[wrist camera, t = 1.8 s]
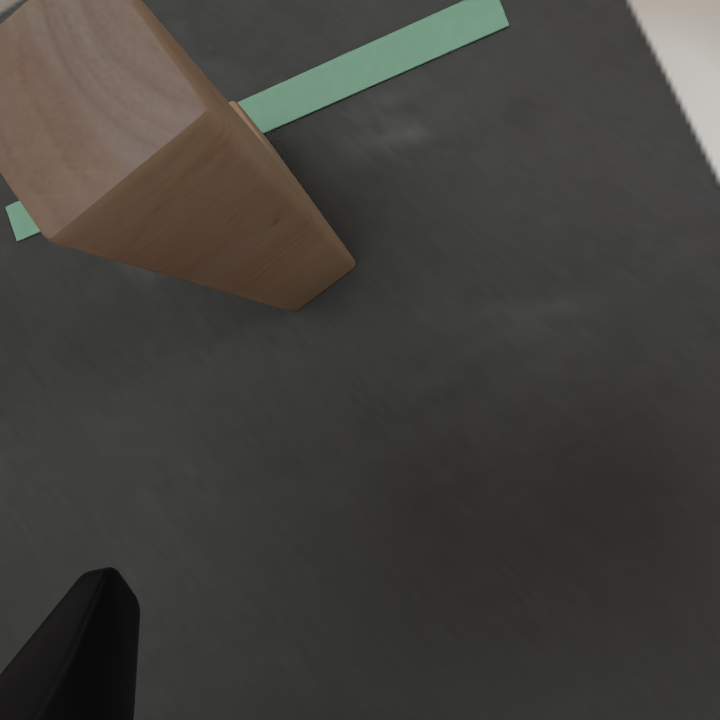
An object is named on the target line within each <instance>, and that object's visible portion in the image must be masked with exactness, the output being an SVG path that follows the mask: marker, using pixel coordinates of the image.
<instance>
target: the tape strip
mask: <svg viewBox="0 0 720 720" xmlns="http://www.w3.org/2000/svg"><path fill="white" fill-rule="evenodd" d="M506 27H509V23H508V21H507V18H506V16H505V13H504V11H503V8H502V5H501V3H500V0H464V1H462V2H460V3H457V4H455V5H453V6H451V7H449V8H446V9H444V10H442V11H440V12H437V13H435V14H433V15H431V16H429V17H426V18H424V19H422V20H420V21H417V22H415V23H413V24H411V25H409V26H406V27H404V28H402V29H400V30H397V31H395V32H393V33H391V34H389V35H386V36H384V37H382V38H380V39H377V40H375V41H373V42H371V43H369V44H366V45H364V46H362V47H360V48H357V49H355V50H353V51H351V52H349V53H346V54H344V55H342V56H340V57H337V58H335V59H333V60H331V61H329V62H326V63H324V64H322V65H320V66H317V67H315V68H313V69H311V70H309V71H306V72H304V73H302V74H300V75H297V76H295V77H293V78H291V79H289V80H286V81H284V82H282V83H280V84H277V85H275V86H273V87H271V88H269V89H266V90H264V91H262V92H260V93H257V94H255V95H253V96H251V97H249V98H246V99H244V100H242V101H240V102H237V103H239V105H240V106H241V107H242V108H243V110H244V111H245V112H246V113H247V114H248V116H249V117H250V118H251V119H252V121H253V122H254V123H255V124H256V126H257V127H258V128H259V129H260V131H261V132H262V133H263V134H265V133H267V132H270V131H272V130H274V129H276V128H279V127H281V126H283V125H286V124H288V123H290V122H292V121H295V120H297V119H299V118H301V117H304V116H306V115H308V114H311V113H313V112H315V111H317V110H320V109H322V108H324V107H327V106H329V105H331V104H333V103H336V102H338V101H340V100H342V99H345V98H347V97H349V96H352V95H354V94H356V93H358V92H361V91H363V90H365V89H367V88H370V87H372V86H374V85H377V84H379V83H381V82H383V81H386V80H388V79H390V78H393V77H395V76H397V75H399V74H402V73H404V72H406V71H408V70H411V69H413V68H415V67H418V66H420V65H422V64H424V63H427V62H429V61H431V60H434V59H436V58H438V57H440V56H443V55H445V54H447V53H449V52H452V51H454V50H456V49H459V48H461V47H463V46H465V45H468V44H470V43H472V42H475V41H477V40H479V39H481V38H484V37H486V36H488V35H490V34H493V33H495V32H497V31H500V30H502V29H504V28H506ZM6 210H7V213H8V216H9V219H10V222H11V225H12V228H13V231H14V234H15V237H16V239H17V241H18V242H19V241H21V240H24V239H26V238H28V237H31V236H33V235H35V234H37V233H40V230H39V229H38V227H37V226H36V224H35V223H34V221H33V220H32V218H31V217H30V215H29V214H28V212H27V211H26V209H25V208H24V206H23V205H22V203H21V202H20V201H18V202H15V203H13V204H11V205H9V206H6Z"/></svg>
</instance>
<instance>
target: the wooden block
mask: <svg viewBox="0 0 720 720" xmlns="http://www.w3.org/2000/svg"><path fill="white" fill-rule="evenodd" d="M0 172H1V174H2V175H3V177H4V178H5V180H6V181H7V183H8V184H9V186H10V187H11V189H12V190H13V192H14V193H15V195H16V196H17V198H18V199H19V201H20V202H21V203H22V205H23V206H24V208H25V209H26V211H27V212H28V214H29V215H30V217H31V218H32V220H33V221H34V223H35V224H36V226H37V227H38V229H39V230H40V232H41V233H42V234H43V236H44V237H45V238H46V239H48V240H49V241H51V242H53V243H54V244H58V245H61V246H65V247H68V248H72V249H76V250H79V251H83V252H86V253H90V254H93V255H97V256H100V257H104V258H108V259H111V260H115V261H118V262H122V263H125V264H129V265H133V266H136V267H140V268H143V269H147V270H150V271H154V272H157V273H161V274H165V275H168V276H172V277H175V278H178V279H182V280H185V281H189V282H192V283H196V284H199V285H203V286H206V287H210V288H213V289H217V290H220V291H223V292H227V293H230V294H234V295H237V296H241V297H244V298H248V299H251V300H255V301H257V302H261V303H264V304H267V305H271V306H274V307H277V308H281V309H284V310H287V311H291V312H295V311H297V310H299V309H300V308H301V307H303V306H304V305H305V304H307V303H308V302H309V301H311V300H312V299H313V298H315V297H316V296H317V295H319V294H320V293H321V292H323V291H324V290H325V289H327V288H328V287H329V286H331V285H332V284H333V283H335V282H336V281H337V280H339V279H340V278H341V277H343V276H344V275H345V274H347V273H348V272H349V271H351V270H352V269H353V268H354V267H355V265H356V263H355V260H354V258H353V257H352V256H351V254H350V253H349V251H348V250H347V249H346V247H345V246H344V244H343V243H342V242H341V240H340V239H339V238H338V236H337V235H336V233H335V232H334V231H333V229H332V228H331V226H330V225H329V224H328V222H327V221H326V220H325V218H324V217H323V215H322V214H321V213H320V211H319V210H318V208H317V207H316V206H315V204H314V203H313V202H312V200H311V199H310V197H309V196H308V195H307V193H306V192H305V190H304V189H303V188H302V186H301V185H300V184H299V182H298V181H297V179H296V178H295V177H294V175H293V174H292V172H291V171H290V170H289V168H288V167H287V166H286V164H285V163H284V161H283V160H282V159H281V157H280V156H279V154H278V153H277V152H276V150H275V149H274V148H273V146H272V145H271V143H270V142H269V141H268V139H267V138H266V137H265V135H264V134H263V133H262V132H261V131H260V129H259V128H258V127H257V126H256V124H255V123H254V122H253V121H252V119H251V118H250V117H249V116H248V114H247V113H246V112H245V111H244V110H243V108H242V107H241V106H240V105H239V103H237V102H235V101H231V102H229V103H228V102H227V100H226V99H225V98H224V97H223V96H222V95H221V93H220V92H219V91H218V90H217V89H216V87H215V86H214V85H213V84H212V83H211V82H210V80H209V79H208V78H207V77H206V76H205V75H204V73H203V72H202V71H201V70H200V69H199V67H198V66H197V65H196V64H195V63H194V62H193V60H192V59H191V58H190V57H189V56H188V54H187V53H186V52H185V51H184V50H183V49H182V47H181V46H180V45H179V44H178V43H177V42H176V40H175V39H174V38H173V37H172V36H171V34H170V33H169V32H168V31H167V30H166V29H165V27H164V26H163V25H162V24H161V23H160V22H159V20H158V19H157V18H156V17H155V16H154V14H153V13H152V12H151V11H150V10H149V9H148V7H147V6H146V5H145V4H144V3H143V1H142V0H28V1H26V2H25V3H24V4H23V5H22V6H21V7H20V8H19V9H17V10H16V11H15V12H14V13H13V14H12V15H11V16H10V17H8V18H7V19H6V20H5V21H4V22H3V23H2V24H1V25H0Z"/></svg>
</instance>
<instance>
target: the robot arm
mask: <svg viewBox="0 0 720 720" xmlns="http://www.w3.org/2000/svg"><path fill="white" fill-rule="evenodd" d="M139 621H140V608H139V603H138V600H137V598H136V596H135V594H134V593H133V592H132V590H131V589H130V587H129V586H128V585H127V583H126V582H125V580H124V579H123V577H122V576H121V575H120V573H119V572H118V571H117V570H116V569H114V568H112V567H107V568H102V569H97V570H93V571H89V572H86V573H84V574H83V575H82V576H81V577H80V578H79V579H78V580H77V581H76V582H75V584H74V585H73V586H72V587H71V589H70V590H69V591H68V592H67V594H66V595H65V596H64V597H63V598H62V600H61V601H60V602H59V603H58V605H57V606H56V607H55V608H54V609H53V611H52V612H51V613H50V614H49V616H48V617H47V618H46V619H45V621H44V622H43V623H42V624H41V625H40V627H39V628H38V629H37V630H36V632H35V633H34V634H33V635H32V637H31V638H30V639H29V640H28V641H27V643H26V644H25V645H24V646H23V648H22V649H21V650H20V651H19V652H18V654H17V655H16V656H15V657H14V659H13V660H12V661H11V662H10V664H9V665H8V666H7V667H6V668H5V670H4V671H3V672H2V673H1V675H0V720H133V717H134V705H135V689H136V672H137V655H138V638H139Z"/></svg>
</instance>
